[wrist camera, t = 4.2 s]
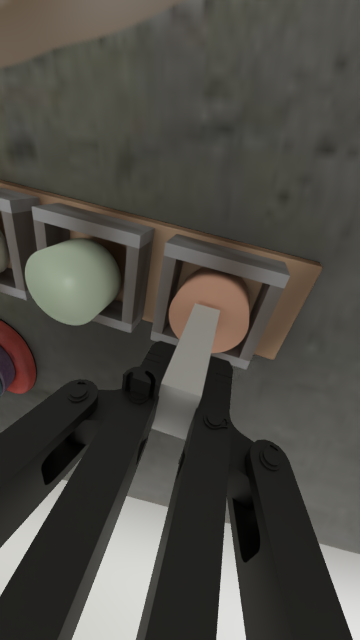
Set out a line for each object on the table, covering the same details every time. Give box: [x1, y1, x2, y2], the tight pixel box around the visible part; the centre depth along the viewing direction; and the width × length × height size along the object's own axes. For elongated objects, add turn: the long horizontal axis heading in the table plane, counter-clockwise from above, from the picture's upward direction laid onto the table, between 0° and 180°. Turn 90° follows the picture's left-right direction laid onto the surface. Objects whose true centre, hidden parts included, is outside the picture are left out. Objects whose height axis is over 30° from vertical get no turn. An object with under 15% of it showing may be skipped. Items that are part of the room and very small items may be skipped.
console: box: [0, 180, 323, 370], centre depth 19 cm, size 30×8×4 cm, turn 79°
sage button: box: [25, 238, 121, 325], centre depth 16 cm, size 5×5×3 cm
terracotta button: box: [169, 267, 249, 353], centre depth 16 cm, size 5×5×3 cm
